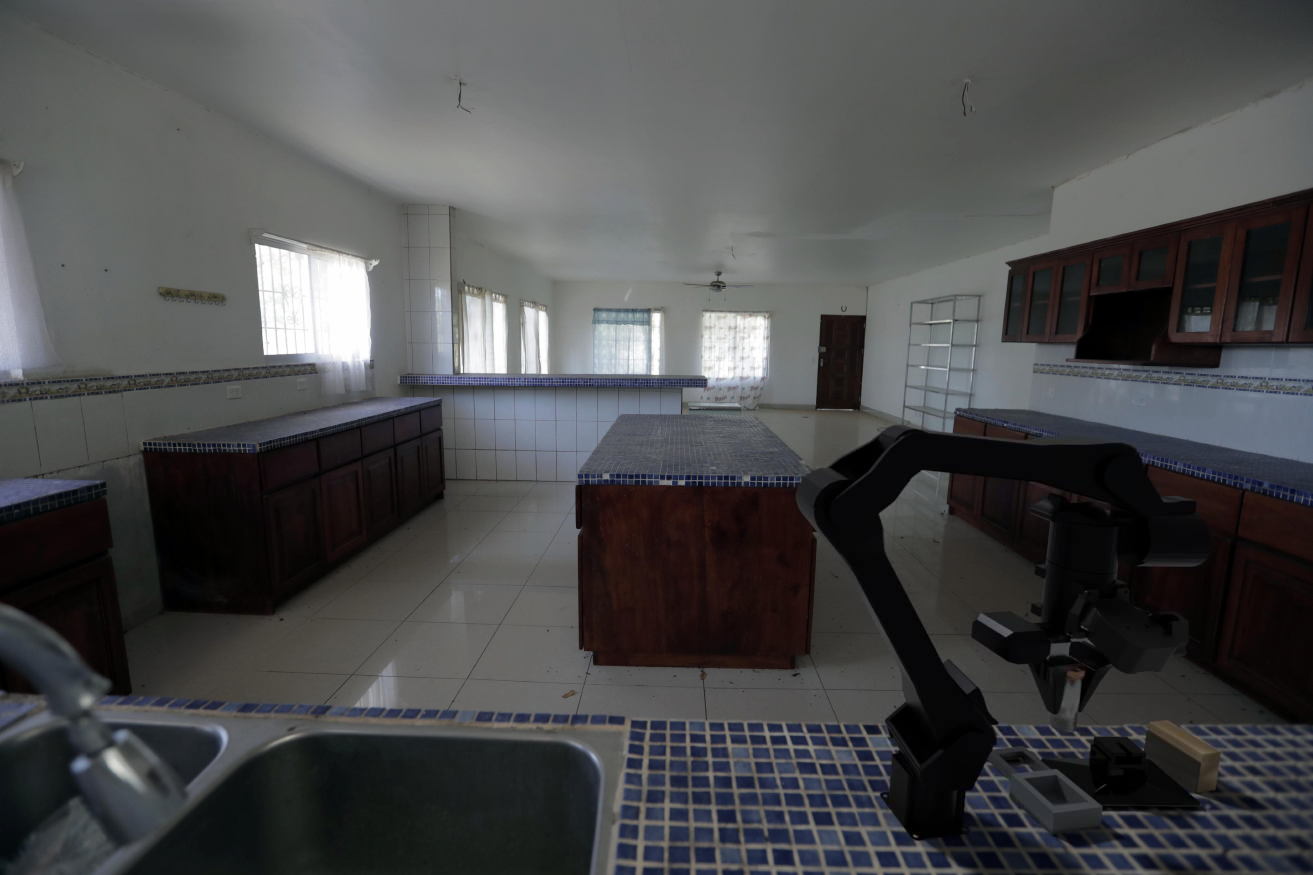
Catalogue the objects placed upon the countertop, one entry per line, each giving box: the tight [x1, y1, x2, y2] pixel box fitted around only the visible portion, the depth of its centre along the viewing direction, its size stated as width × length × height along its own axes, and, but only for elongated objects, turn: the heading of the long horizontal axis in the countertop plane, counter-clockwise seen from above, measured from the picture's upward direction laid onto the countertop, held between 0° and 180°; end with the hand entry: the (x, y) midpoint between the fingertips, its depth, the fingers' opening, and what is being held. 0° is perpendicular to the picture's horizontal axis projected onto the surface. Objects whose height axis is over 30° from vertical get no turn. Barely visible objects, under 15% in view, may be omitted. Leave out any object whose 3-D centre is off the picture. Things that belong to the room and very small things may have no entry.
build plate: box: [1040, 735, 1201, 807], centre depth 65 cm, size 12×7×5 cm, turn 88°
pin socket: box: [987, 745, 1052, 782], centre depth 68 cm, size 5×5×1 cm
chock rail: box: [1143, 719, 1222, 794], centre depth 67 cm, size 3×6×5 cm, turn 10°
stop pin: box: [1047, 660, 1086, 733], centre depth 60 cm, size 3×3×7 cm
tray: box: [1008, 769, 1104, 836], centre depth 62 cm, size 6×6×2 cm
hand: (1063, 711), depth 61 cm, fingers closed on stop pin, 2 cm apart
